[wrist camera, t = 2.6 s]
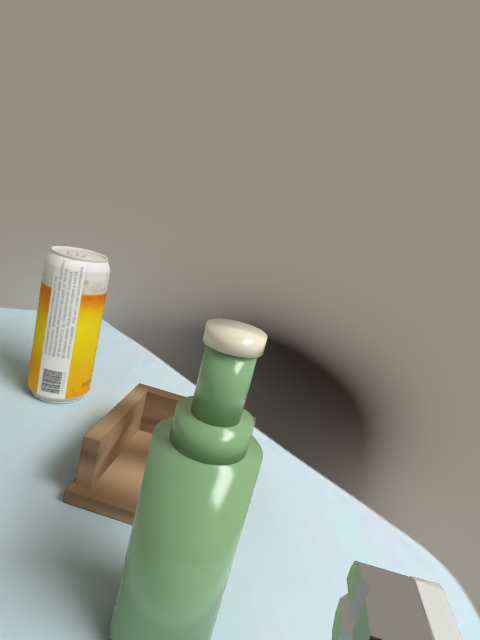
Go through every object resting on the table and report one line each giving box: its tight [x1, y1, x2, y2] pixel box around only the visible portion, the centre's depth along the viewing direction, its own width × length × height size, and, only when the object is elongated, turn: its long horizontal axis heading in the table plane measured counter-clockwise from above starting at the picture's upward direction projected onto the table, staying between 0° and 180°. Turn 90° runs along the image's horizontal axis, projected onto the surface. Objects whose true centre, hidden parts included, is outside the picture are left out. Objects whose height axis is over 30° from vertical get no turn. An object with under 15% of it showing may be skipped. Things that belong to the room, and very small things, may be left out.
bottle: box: [109, 319, 267, 640], centre depth 22 cm, size 5×5×18 cm
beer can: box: [28, 246, 110, 404], centre depth 45 cm, size 6×6×15 cm
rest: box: [63, 383, 256, 525], centre depth 37 cm, size 12×12×5 cm
